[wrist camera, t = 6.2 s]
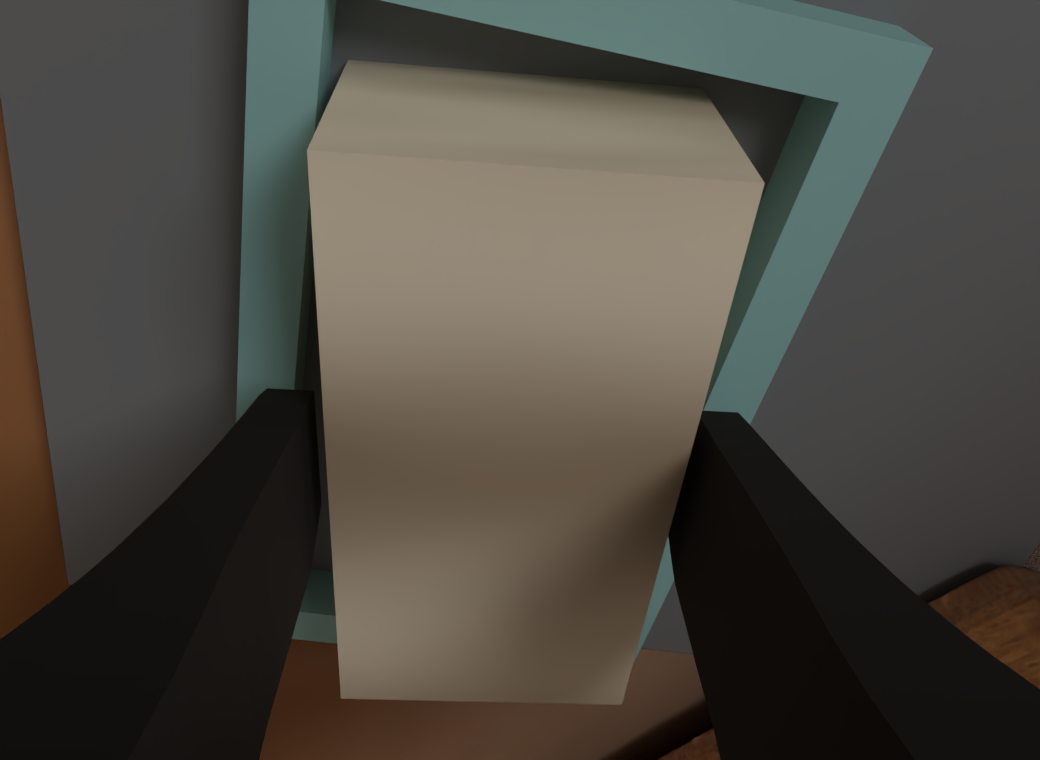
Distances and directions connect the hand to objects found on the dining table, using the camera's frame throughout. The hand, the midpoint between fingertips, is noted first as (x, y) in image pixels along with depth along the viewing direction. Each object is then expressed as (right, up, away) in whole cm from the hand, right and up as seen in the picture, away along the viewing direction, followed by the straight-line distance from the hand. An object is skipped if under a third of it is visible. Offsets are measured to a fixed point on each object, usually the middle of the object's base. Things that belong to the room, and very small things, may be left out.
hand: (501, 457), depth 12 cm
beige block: (0, +1, +2) cm, 2 cm away
